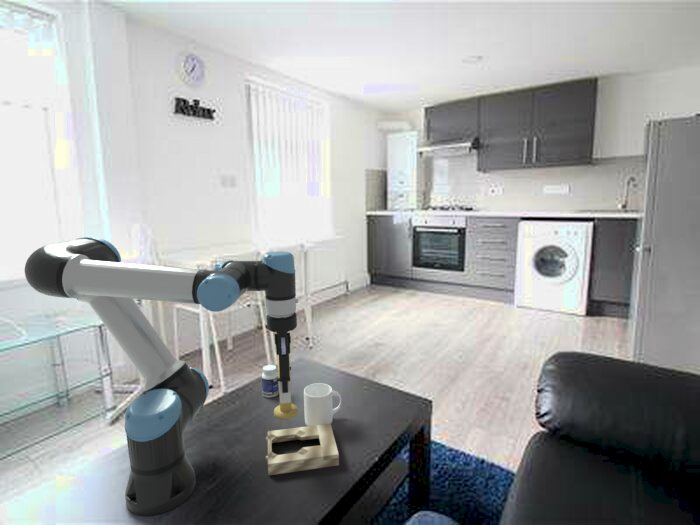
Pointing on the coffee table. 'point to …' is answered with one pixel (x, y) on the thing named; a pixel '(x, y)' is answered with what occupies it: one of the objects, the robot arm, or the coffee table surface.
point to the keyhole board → (303, 449)
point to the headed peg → (285, 406)
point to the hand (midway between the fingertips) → (285, 398)
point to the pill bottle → (270, 381)
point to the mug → (319, 404)
